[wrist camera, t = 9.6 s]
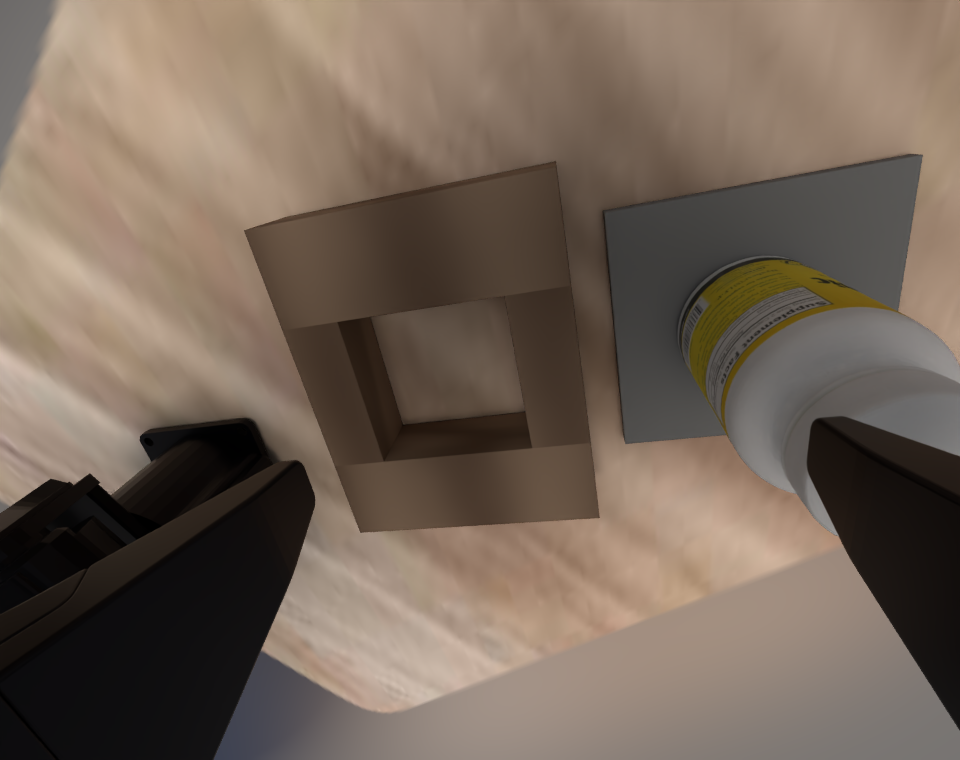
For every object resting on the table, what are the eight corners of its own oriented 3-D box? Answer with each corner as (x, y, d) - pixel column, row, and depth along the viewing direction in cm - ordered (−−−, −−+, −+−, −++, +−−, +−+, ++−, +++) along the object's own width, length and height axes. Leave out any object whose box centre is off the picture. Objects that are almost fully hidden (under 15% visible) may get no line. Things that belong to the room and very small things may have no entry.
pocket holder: (380, 491, 26) (360, 532, 24) (284, 217, 20) (244, 230, 18) (594, 474, 24) (599, 518, 21) (555, 161, 18) (556, 166, 16)
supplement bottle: (853, 336, 19) (1105, 512, 10) (717, 408, 21) (831, 605, 12) (787, 219, 17) (1015, 308, 9) (647, 308, 19) (722, 452, 11)
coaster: (623, 436, 23) (625, 443, 22) (603, 210, 19) (604, 212, 18) (872, 413, 21) (880, 421, 20) (911, 154, 17) (922, 154, 16)
